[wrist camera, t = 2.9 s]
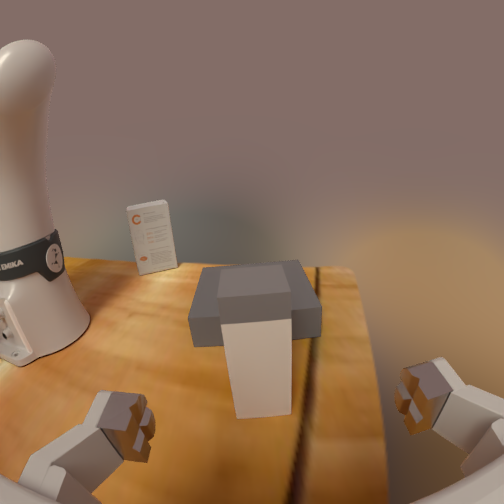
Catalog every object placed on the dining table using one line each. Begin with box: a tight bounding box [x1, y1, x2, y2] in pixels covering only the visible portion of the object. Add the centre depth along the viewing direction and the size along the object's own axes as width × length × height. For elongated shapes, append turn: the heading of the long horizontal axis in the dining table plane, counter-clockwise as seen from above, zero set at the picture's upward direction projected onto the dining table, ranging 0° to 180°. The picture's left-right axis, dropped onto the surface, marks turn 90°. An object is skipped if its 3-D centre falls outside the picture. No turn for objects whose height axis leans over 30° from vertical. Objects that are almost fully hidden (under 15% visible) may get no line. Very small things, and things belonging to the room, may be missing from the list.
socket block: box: [188, 260, 322, 347], centre depth 39 cm, size 15×15×4 cm
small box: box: [126, 200, 178, 276], centre depth 56 cm, size 8×6×13 cm
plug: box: [217, 264, 292, 419], centre depth 22 cm, size 5×5×12 cm
